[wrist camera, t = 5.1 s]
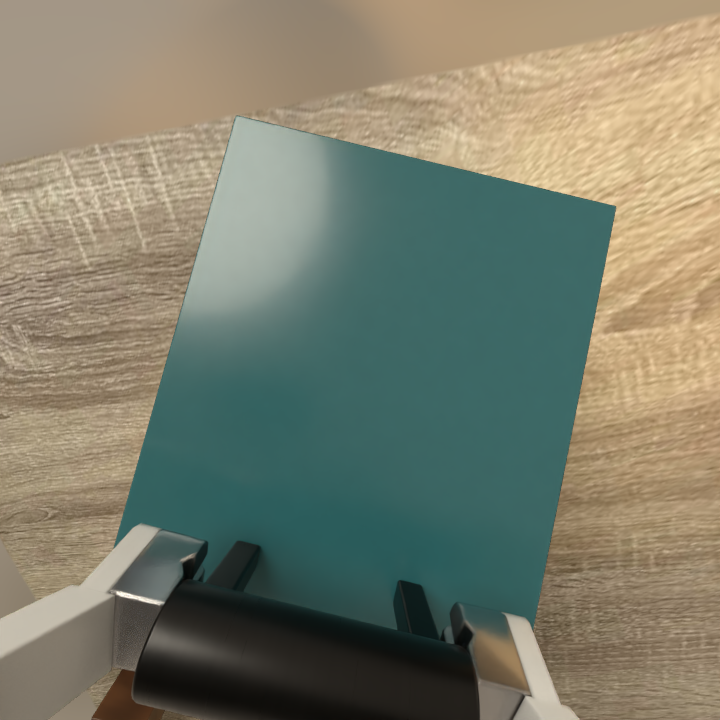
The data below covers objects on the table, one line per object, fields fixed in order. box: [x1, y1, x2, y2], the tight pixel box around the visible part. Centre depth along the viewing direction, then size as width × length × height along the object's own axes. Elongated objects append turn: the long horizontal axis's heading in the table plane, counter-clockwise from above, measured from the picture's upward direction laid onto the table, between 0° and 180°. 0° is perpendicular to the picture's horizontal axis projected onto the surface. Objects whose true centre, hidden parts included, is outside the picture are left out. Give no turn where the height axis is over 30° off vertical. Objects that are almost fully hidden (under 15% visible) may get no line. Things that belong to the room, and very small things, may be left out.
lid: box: [113, 116, 616, 720], centre depth 9 cm, size 14×12×5 cm
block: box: [92, 669, 165, 720], centre depth 34 cm, size 4×4×4 cm
